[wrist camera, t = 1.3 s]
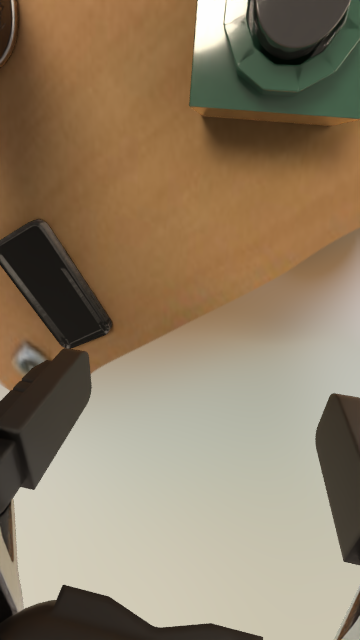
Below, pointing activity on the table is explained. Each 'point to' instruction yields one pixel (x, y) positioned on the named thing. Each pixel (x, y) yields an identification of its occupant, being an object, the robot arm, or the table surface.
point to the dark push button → (295, 24)
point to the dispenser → (272, 70)
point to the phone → (53, 285)
